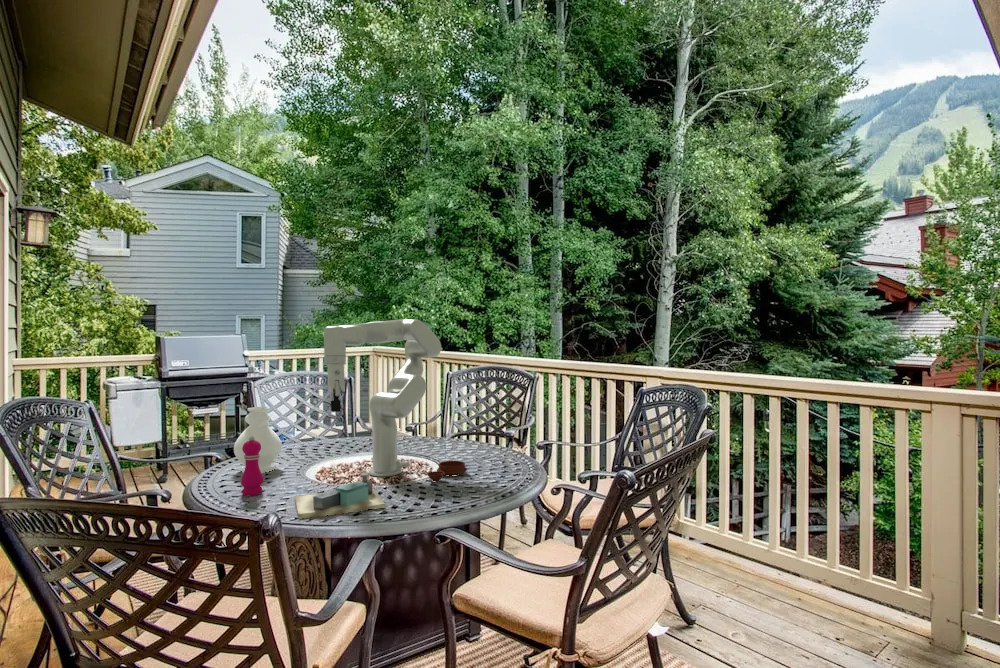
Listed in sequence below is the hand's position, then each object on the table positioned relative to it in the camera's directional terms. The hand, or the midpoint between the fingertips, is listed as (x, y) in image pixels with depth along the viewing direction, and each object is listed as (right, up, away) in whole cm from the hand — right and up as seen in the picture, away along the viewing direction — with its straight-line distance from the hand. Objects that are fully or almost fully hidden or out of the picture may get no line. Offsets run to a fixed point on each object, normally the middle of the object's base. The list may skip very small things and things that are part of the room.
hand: (335, 411), depth 213 cm
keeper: (+12, -26, -23) cm, 37 cm away
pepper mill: (-27, -28, -8) cm, 39 cm away
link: (+9, -26, -22) cm, 35 cm away
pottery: (+39, -27, +13) cm, 49 cm away
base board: (+7, -27, -22) cm, 36 cm away
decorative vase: (-38, -27, +25) cm, 53 cm away
